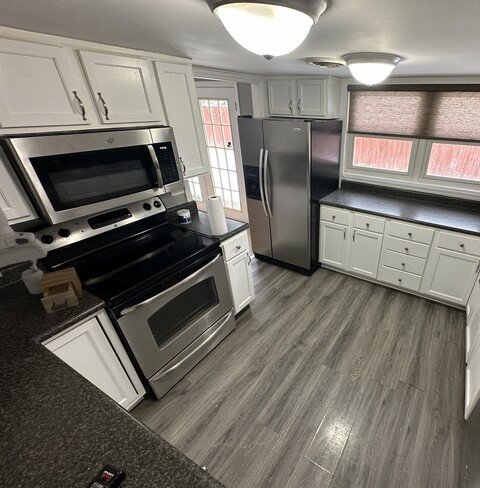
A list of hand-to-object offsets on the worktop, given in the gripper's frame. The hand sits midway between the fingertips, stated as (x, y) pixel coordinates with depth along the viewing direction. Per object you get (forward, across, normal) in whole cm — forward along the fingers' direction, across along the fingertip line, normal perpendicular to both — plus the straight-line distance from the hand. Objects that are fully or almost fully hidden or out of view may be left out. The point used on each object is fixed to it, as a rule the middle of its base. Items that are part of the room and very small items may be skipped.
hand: (17, 273), depth 103 cm
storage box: (+27, +6, +24) cm, 37 cm away
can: (+27, -4, +36) cm, 45 cm away
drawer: (+26, +6, +10) cm, 29 cm away
